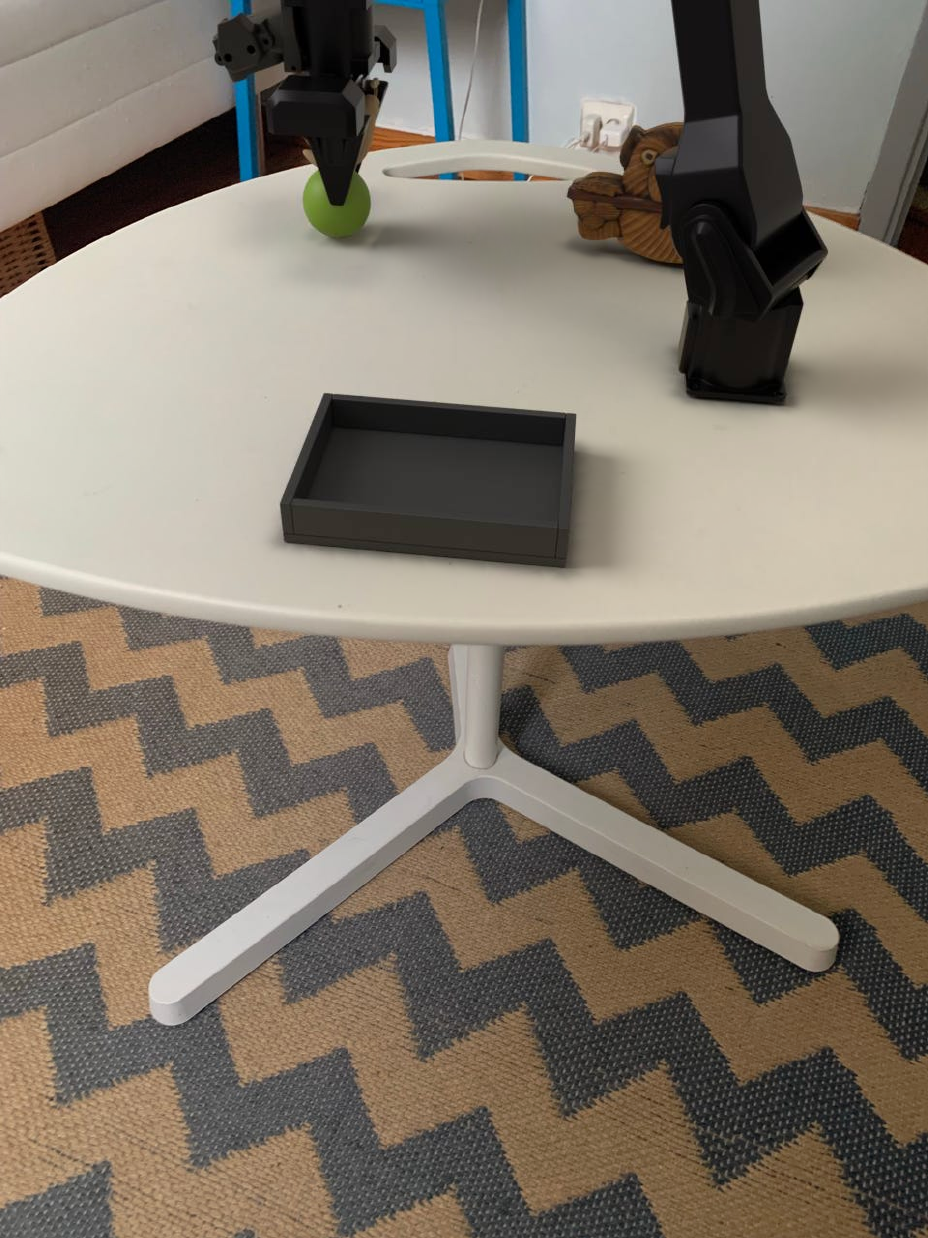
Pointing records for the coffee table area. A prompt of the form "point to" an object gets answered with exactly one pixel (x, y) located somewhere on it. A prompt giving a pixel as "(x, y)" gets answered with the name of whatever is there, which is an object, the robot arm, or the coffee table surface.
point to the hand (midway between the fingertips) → (343, 194)
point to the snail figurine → (358, 199)
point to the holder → (434, 480)
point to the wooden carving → (629, 196)
